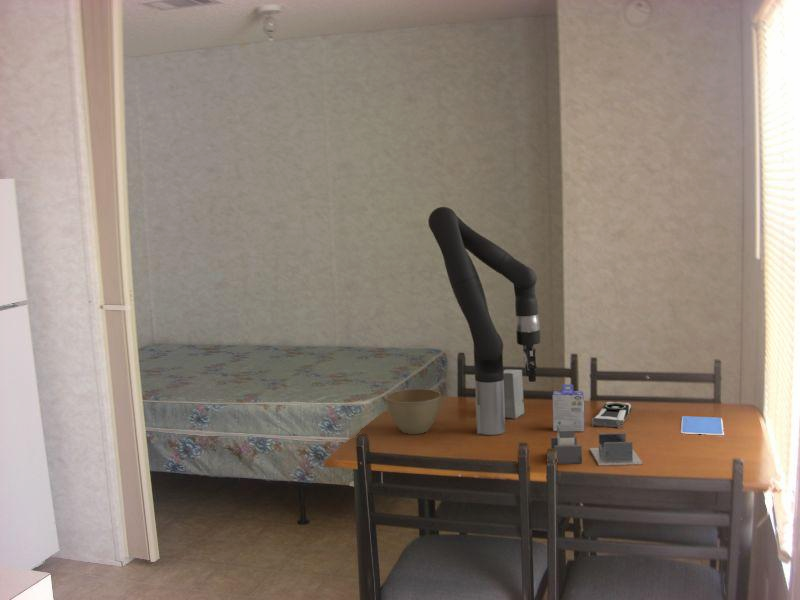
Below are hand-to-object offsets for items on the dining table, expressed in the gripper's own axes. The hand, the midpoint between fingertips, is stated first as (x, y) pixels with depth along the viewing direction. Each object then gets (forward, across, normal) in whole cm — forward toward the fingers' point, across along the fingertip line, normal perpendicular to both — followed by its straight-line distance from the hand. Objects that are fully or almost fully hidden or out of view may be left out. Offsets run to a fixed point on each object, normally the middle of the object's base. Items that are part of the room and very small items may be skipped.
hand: (530, 378), depth 260 cm
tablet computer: (+20, +1, +53) cm, 57 cm away
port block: (+18, +29, +20) cm, 40 cm away
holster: (+17, +29, +6) cm, 34 cm away
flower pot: (+16, -3, -39) cm, 42 cm away
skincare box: (+17, -19, -6) cm, 26 cm away
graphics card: (+19, -12, +28) cm, 36 cm away
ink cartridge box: (+18, 0, +11) cm, 21 cm away
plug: (+17, +29, +6) cm, 34 cm away
